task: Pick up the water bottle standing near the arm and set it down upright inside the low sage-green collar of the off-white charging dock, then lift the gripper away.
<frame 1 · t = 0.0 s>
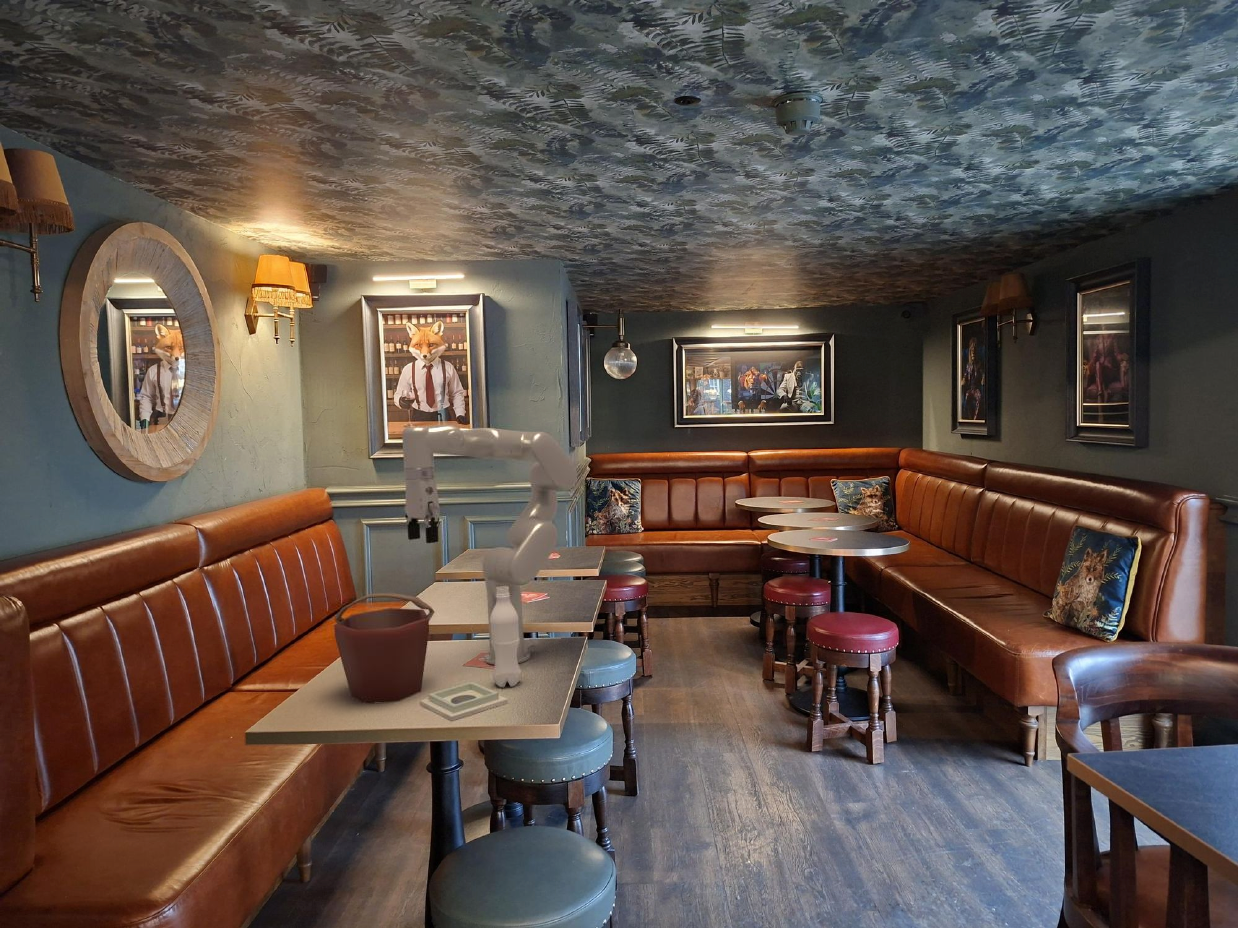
hand: (423, 540, 205), 37 cm above the table, tool pointing down, fingers open, 9 cm apart
charging dock: (463, 703, 188), on the table
bucket: (387, 693, 199), on the table
water bottle: (507, 684, 201), on the table
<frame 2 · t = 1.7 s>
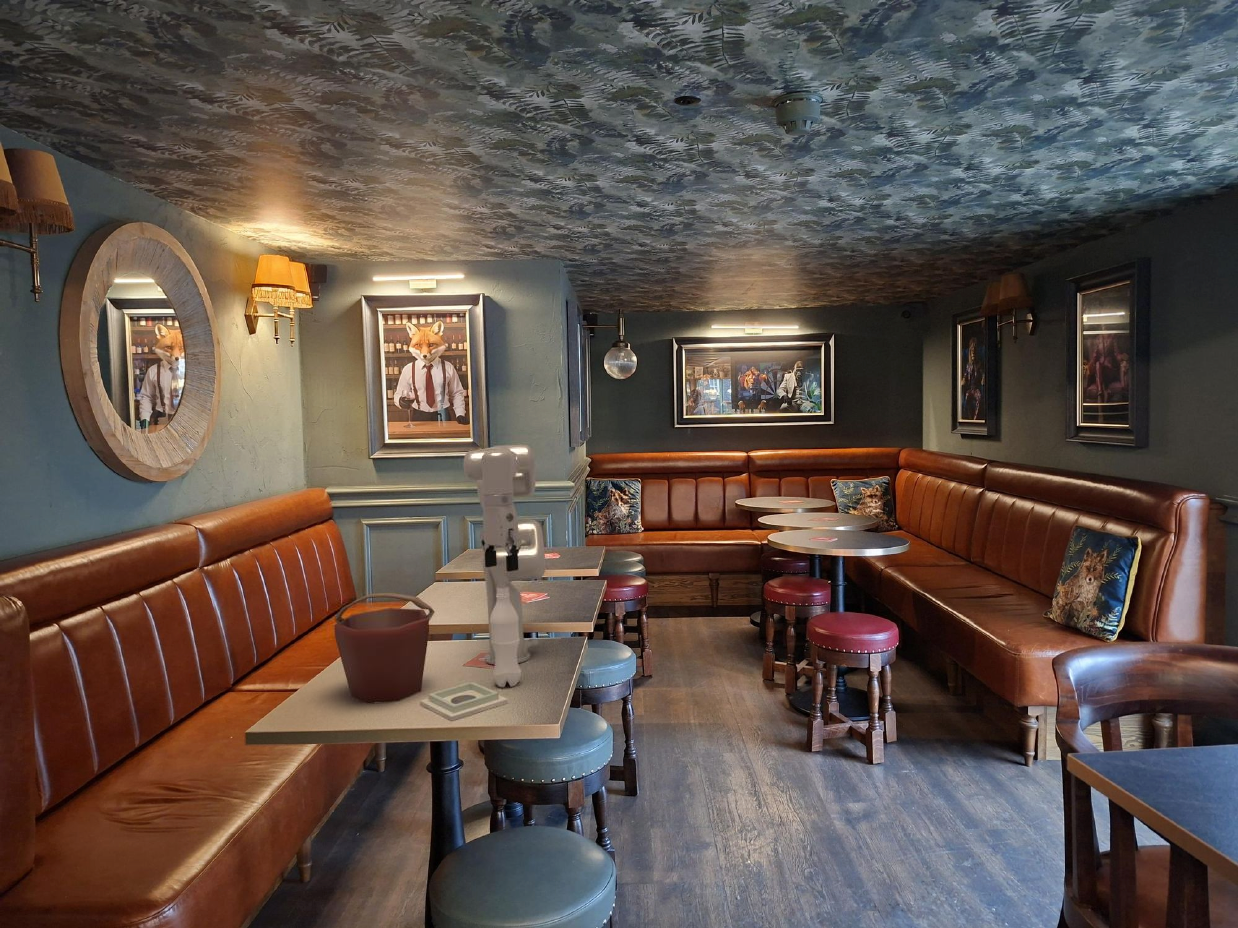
hand: (501, 568, 199), 30 cm above the table, tool pointing down, fingers open, 9 cm apart
nothing on the table moved.
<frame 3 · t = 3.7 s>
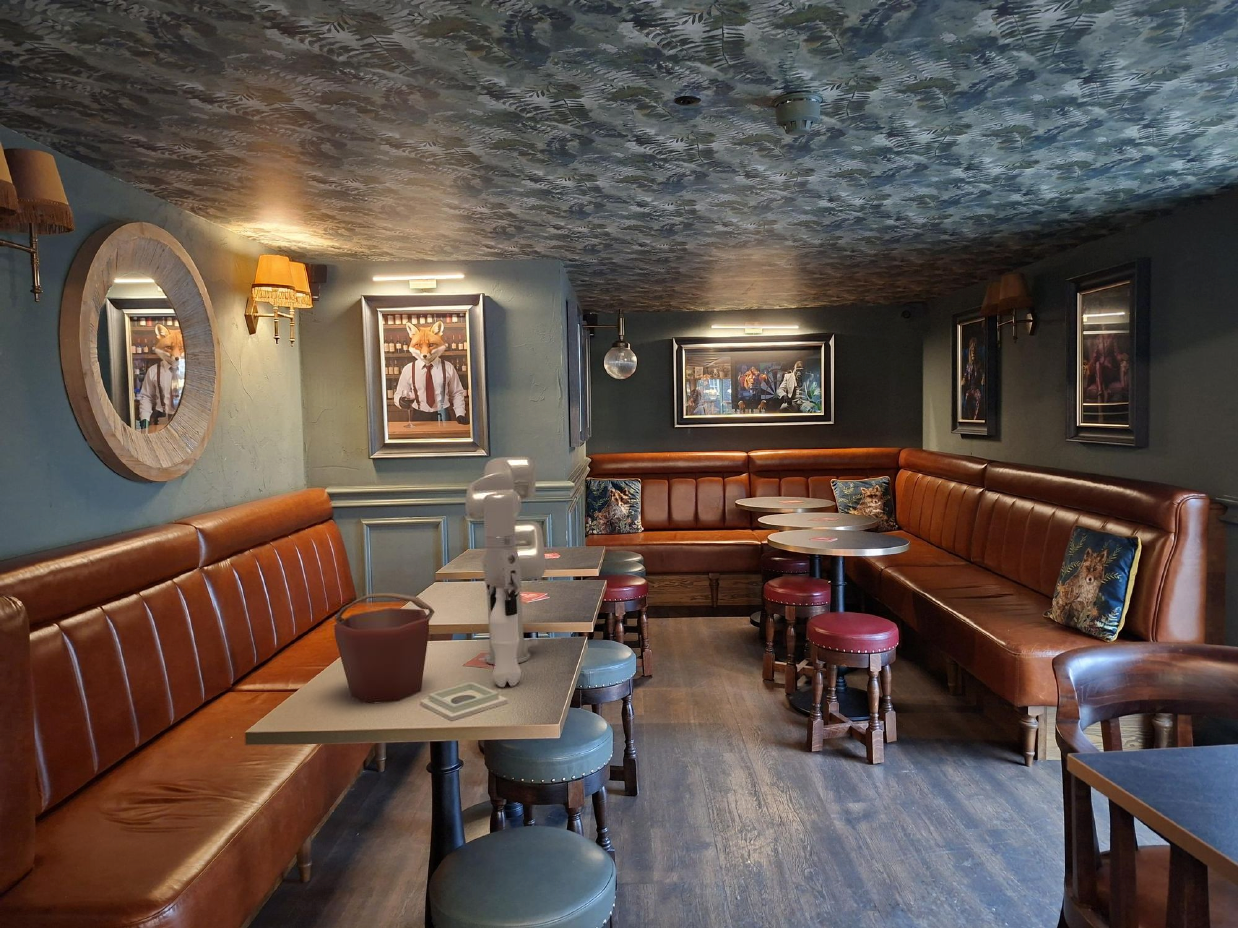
hand: (503, 612, 200), 19 cm above the table, tool pointing down, fingers closed on water bottle, 6 cm apart
water bottle: (507, 684, 201), on the table, touching gripper
everything else where it was.
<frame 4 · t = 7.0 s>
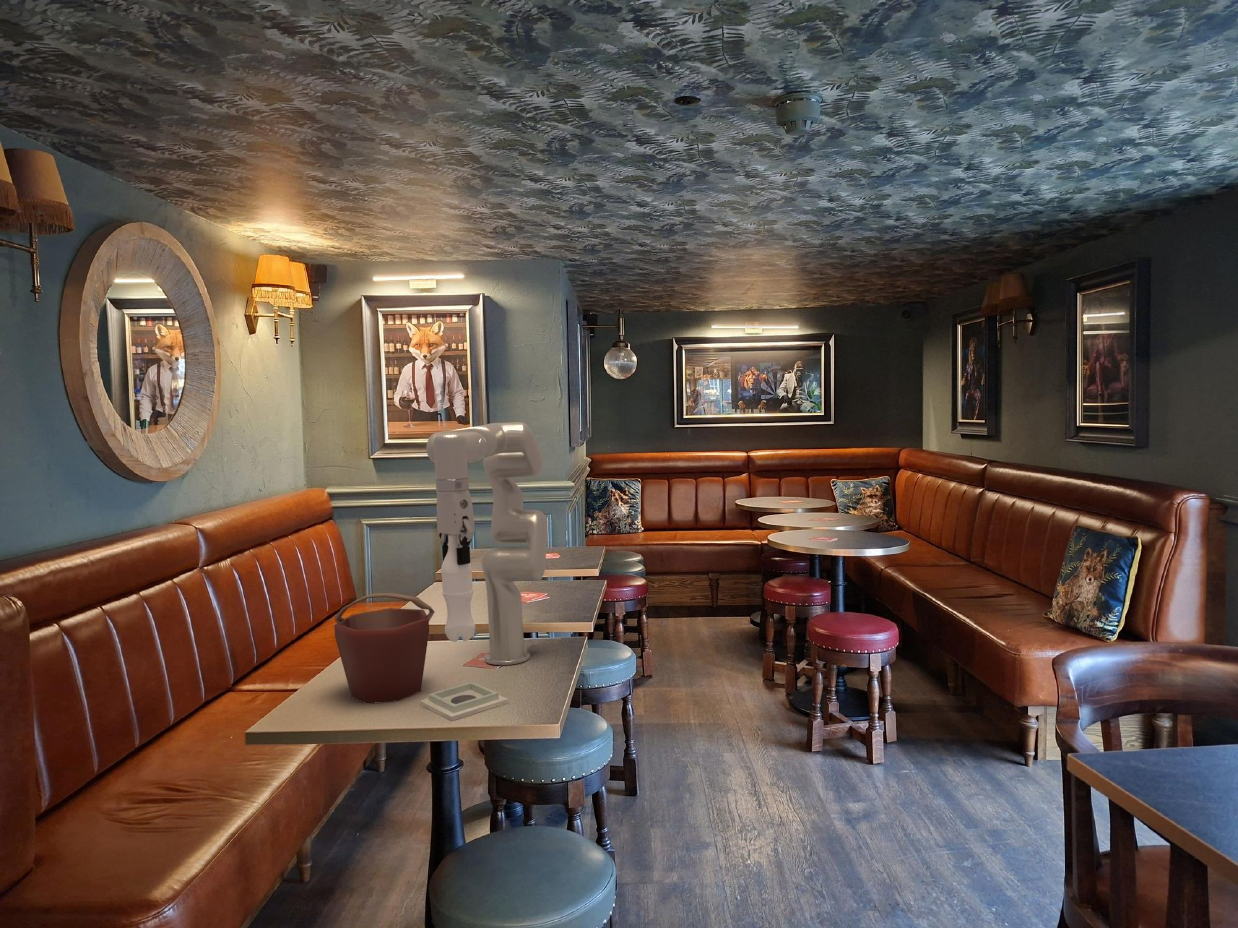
hand: (456, 561, 186), 34 cm above the table, tool pointing down, fingers closed on water bottle, 6 cm apart
water bottle: (460, 639, 188), point 15 cm above the table, touching gripper
everything else where it was.
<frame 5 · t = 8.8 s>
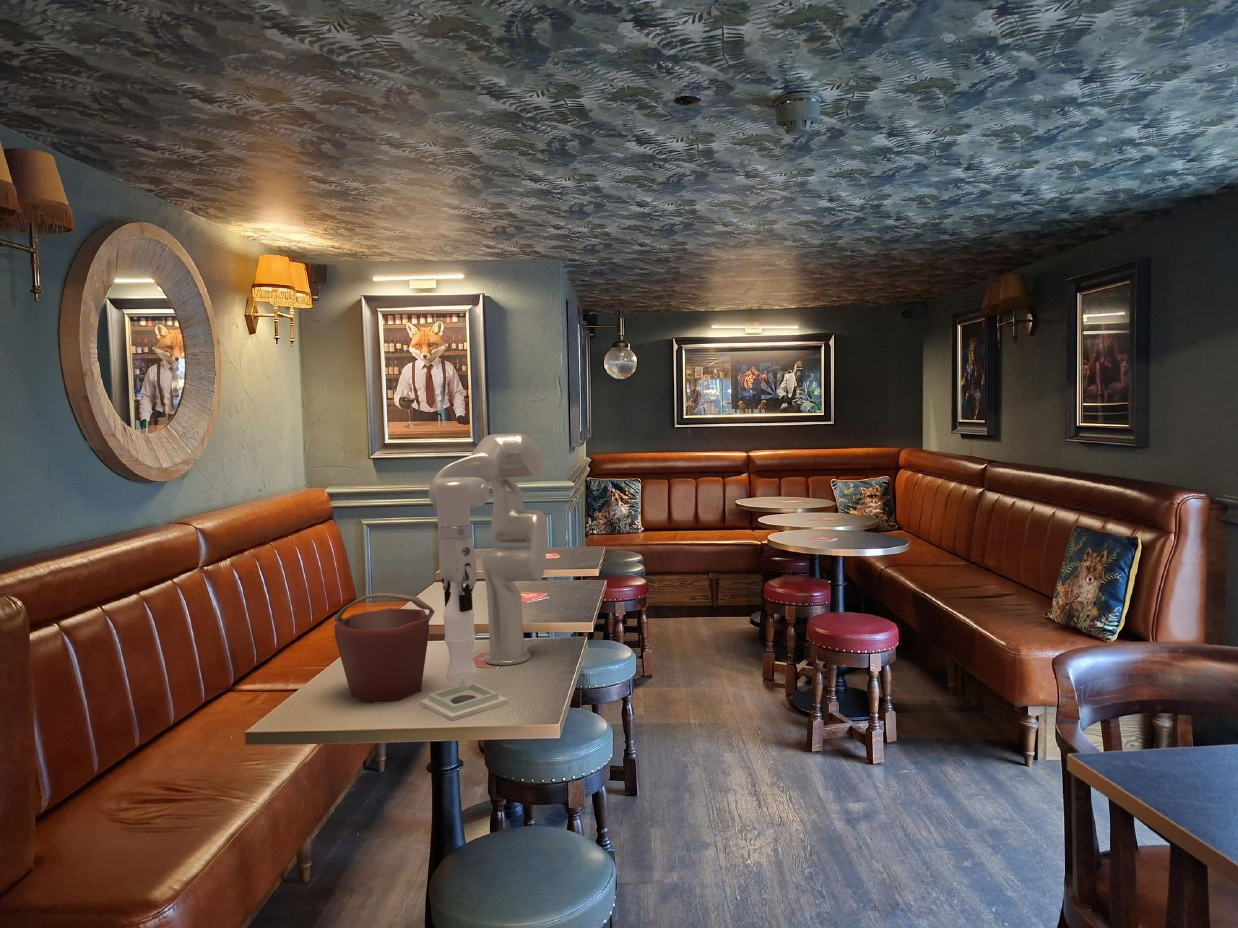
hand: (458, 607, 187), 23 cm above the table, tool pointing down, fingers closed on water bottle, 6 cm apart
water bottle: (462, 685, 188), point 4 cm above the table, touching gripper
everything else where it was.
when the fingers open (20 cm above the table, at t = 10.3 s): water bottle stays where it is, resting on charging dock.
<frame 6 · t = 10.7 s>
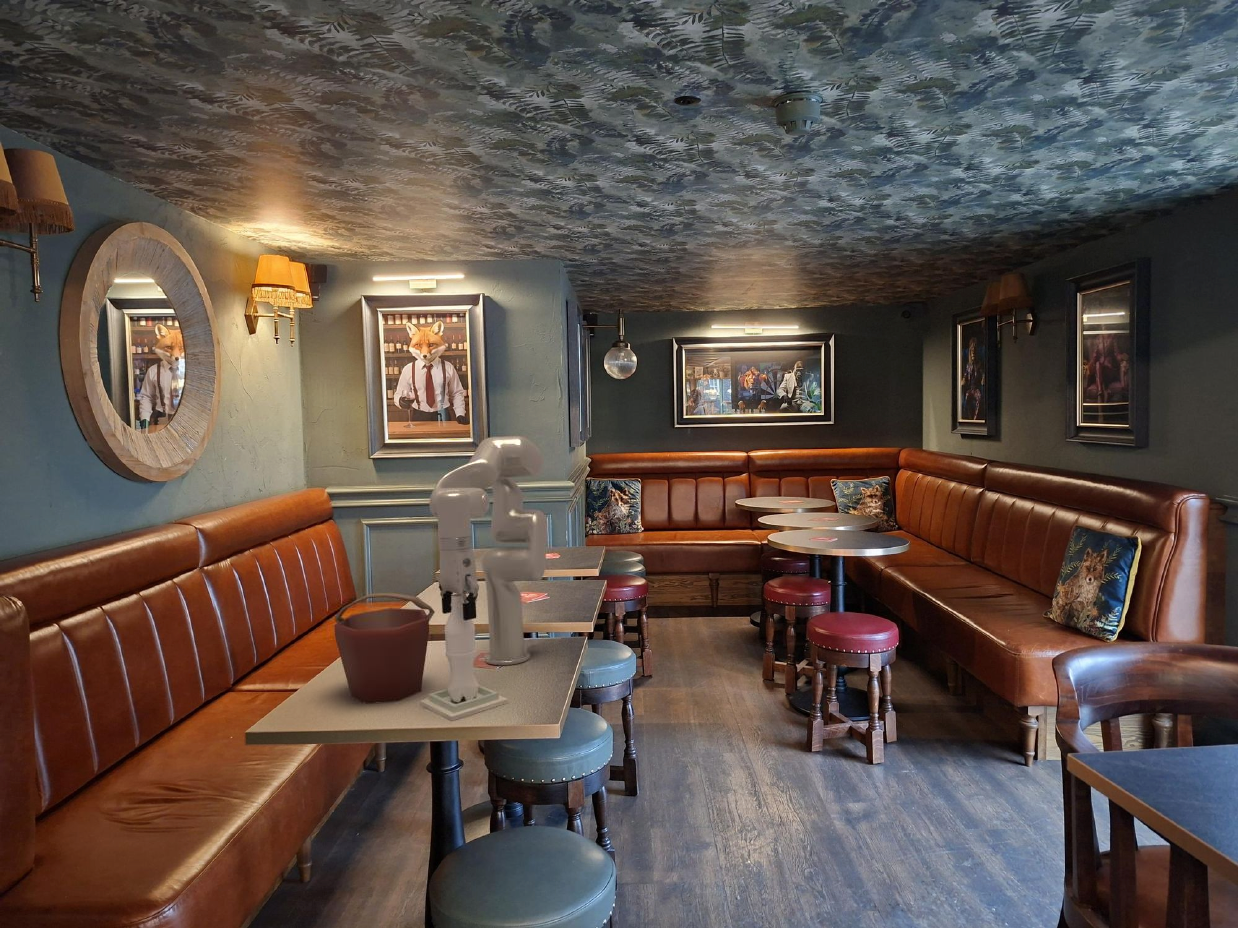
hand: (459, 615, 187), 21 cm above the table, tool pointing down, fingers open, 9 cm apart
water bottle: (463, 699, 189), point 1 cm above the table, touching charging dock
everything else where it was.
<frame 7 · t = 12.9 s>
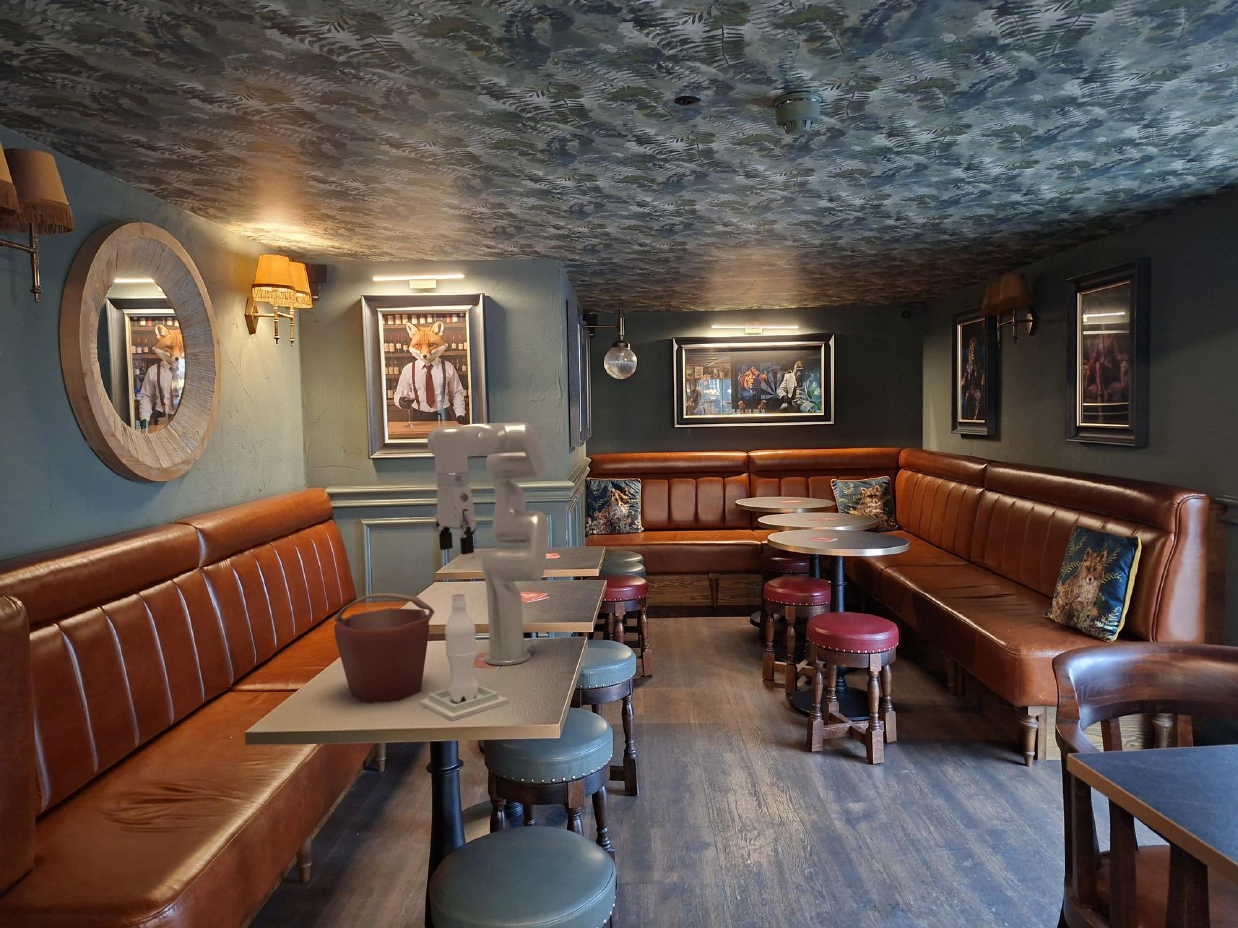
hand: (456, 551, 189), 36 cm above the table, tool pointing down, fingers open, 9 cm apart
nothing on the table moved.
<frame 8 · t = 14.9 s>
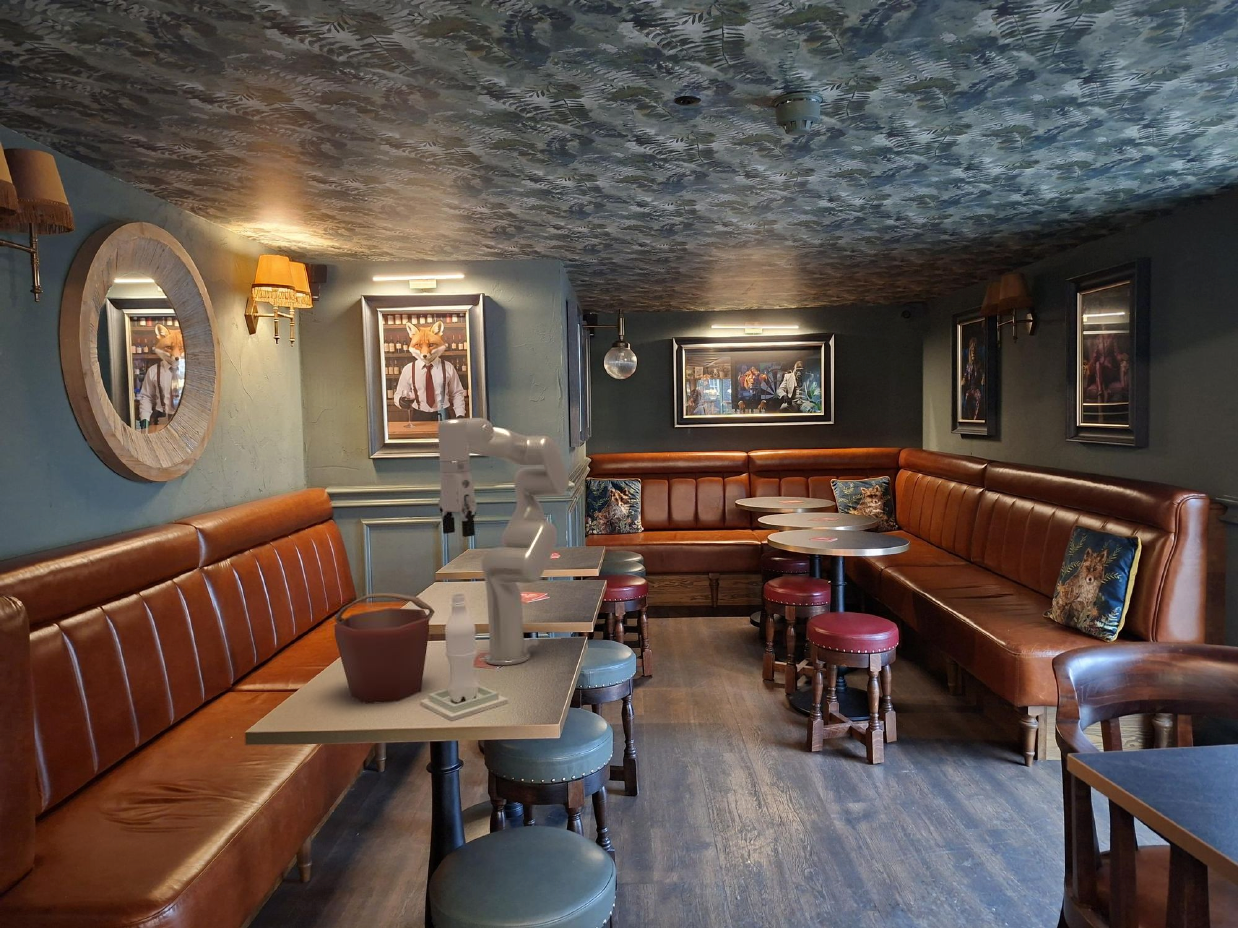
hand: (458, 534, 202), 38 cm above the table, tool pointing down, fingers open, 9 cm apart
nothing on the table moved.
at the end: water bottle 0.3 cm off-centre on the charging dock, point 0.9 cm above the charging dock's base; water bottle tilted 0°; the gripper is holding nothing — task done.
